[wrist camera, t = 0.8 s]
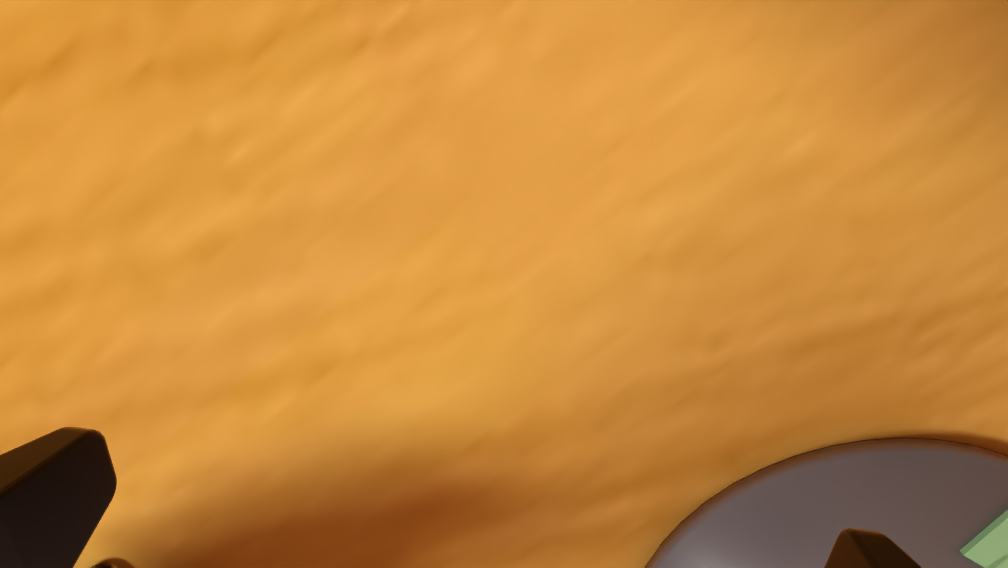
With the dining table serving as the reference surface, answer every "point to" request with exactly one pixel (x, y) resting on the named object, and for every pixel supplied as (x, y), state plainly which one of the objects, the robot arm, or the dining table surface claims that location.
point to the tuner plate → (854, 508)
